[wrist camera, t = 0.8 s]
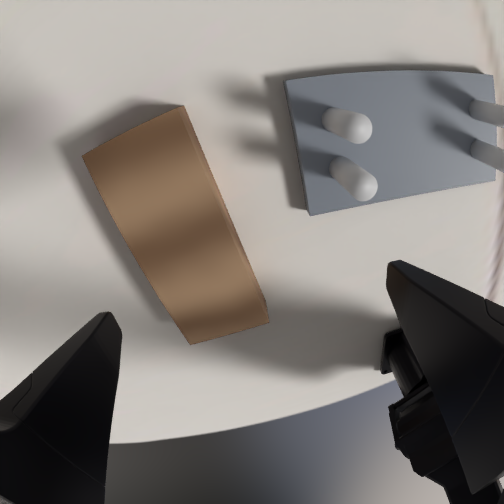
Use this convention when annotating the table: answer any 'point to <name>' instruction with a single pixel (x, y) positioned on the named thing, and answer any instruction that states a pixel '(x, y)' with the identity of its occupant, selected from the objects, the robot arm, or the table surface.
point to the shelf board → (178, 226)
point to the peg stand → (392, 134)
